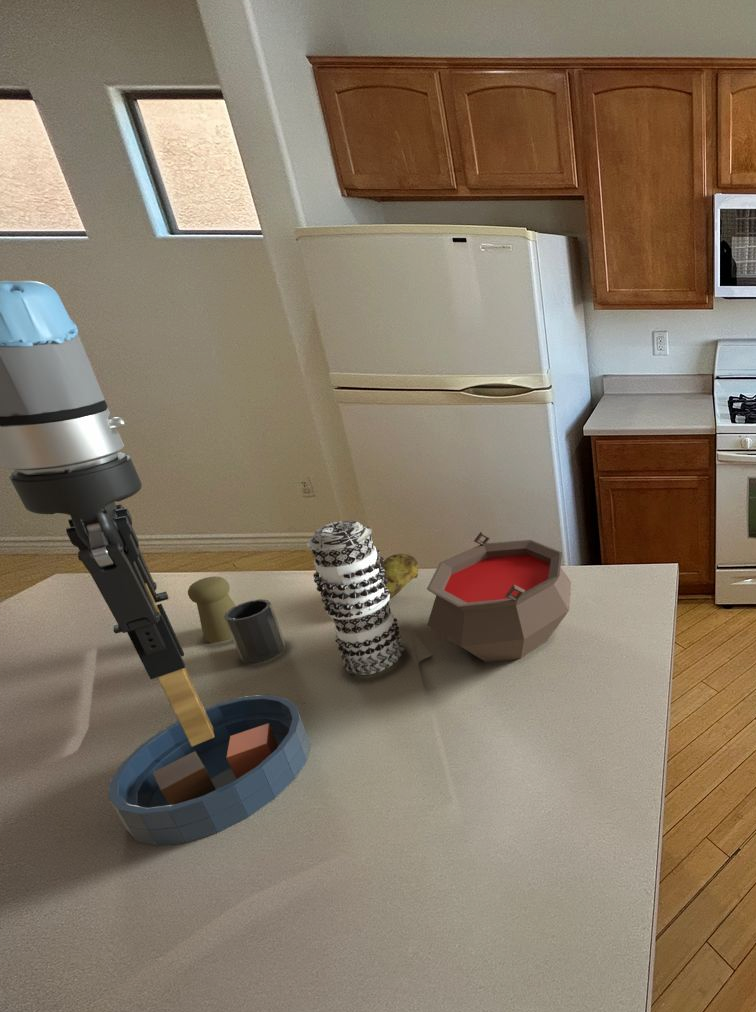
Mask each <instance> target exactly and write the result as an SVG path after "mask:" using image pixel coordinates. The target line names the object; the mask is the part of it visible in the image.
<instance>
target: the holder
mask: <svg viewBox="0 0 756 1012" xmlns="http://www.w3.org/2000/svg"><path fill="white" fill-rule="evenodd" d="M224 618H225V621H226V623H227V626H228V628H229V631H230V633H231V636H232V638H231V639H232V640H233V643H234V646H235V648H236V650H237V651H236V652H237V653H238V655H239V658H240V660H241V661H242V663H245V664H249V665H250V664H251V665H252V664H259V663H264V662H265V661H269V660H271V659H273V658H276V657H277V656H279V654H281V653H282V652H283V651H284V650H285V649H286V641H285V639H284V636H283V633H282V630H281V627H280V625H279V621H278V619H277V616H276V613H275V610H274V608H273V604H272V602H271V601H270V600H268V599H252V600H249V601H248V600H247V601H244V602H241V603H239V604H237V605H235V607H233V608H231V609H230V610H229V611H227V612H226V613H225V616H224Z"/></svg>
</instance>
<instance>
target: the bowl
mask: <svg viewBox="0 0 756 1012" xmlns="http://www.w3.org/2000/svg"><path fill="white" fill-rule="evenodd" d="M204 709H205V711H206V713H207V716H208V718H209V720H210V722H211V724H212V726H213V731H214V738H212V739H209V740H207V741H204V742H202V743H200V744H197V745H195V746H193V747H192V746H191V745H190V743H189V741H188V739H187V737H186V735H185V733H184V730H183V728H182V726H181V724H180V722H179V720H177V721H175V722H173V723H171V724H169V725H167V726H166V727H164V728H163V729H161V730H159V731H158V732H157V733H156V734H154V735H153V736H151V737H150V738H149V739H147V740H145V741H144V742H142V743H141V744H140V745H139V746H138V747H136V749H134V751H133V752H132V753H131V754H129V755H128V757H126V758H125V760H124V761H122V762H121V764H120V765H119V766H118V768H117V770H116V771H115V773H114V774H113V776H112V777H111V779H110V780H109V783H108V784H109V785H108V801H109V803H110V805H111V807H112V808H113V809H114V811H115V813H116V815H117V816H118V818H119V819H120V821H121V823H122V824H123V826H124V828H125V830H126V831H127V832H128V833H129V834H130V835H131V837H132V838H133V839H134V840H135V841H136V842H138V843H141V844H146V845H151V846H155V847H163V846H172V845H173V846H174V845H181V844H186V843H191V842H192V841H193V842H194V841H197V840H199V839H202V838H206V837H209V836H212V835H215V834H217V833H220V832H222V831H224V830H226V829H228V828H230V827H232V826H234V825H235V824H236V825H237V823H240V822H241V821H244V820H246V819H248V818H249V817H251V816H253V815H254V814H255V813H256V812H258V811H260V810H261V809H262V808H264V807H265V806H267V805H269V803H271V802H272V801H274V800H275V799H276V798H277V797H278V796H279V795H280V794H281V793H282V792H284V791H285V789H286V788H287V787H288V786H289V785H291V784H292V783H293V782H294V780H296V778H297V777H298V775H299V773H300V772H301V771H302V769H303V767H304V766H305V764H306V763H307V761H308V757H309V753H310V749H311V742H310V739H309V736H308V733H307V729H306V728H305V725H304V723H303V720H302V717H301V714H300V711H299V709H298V706H297V704H296V703H294V702H292V701H291V700H290V699H288V698H286V697H284V696H278V695H272V694H261V695H259V694H258V695H248V696H247V695H246V696H240V697H237V698H233V699H229V700H224V701H221V702H217V703H216V704H212V705H210V706H208V707H204ZM267 723H269V724H270V727H271V729H272V732H273V734H274V737H275V739H276V742H277V744H278V748H277V749H276V750H275V751H274V752H273V753H271V754H270V755H269V756H268V757H267V758H266V759H265V760H264V761H262V762H261V763H260V764H259V765H258V766H257V767H255V768H254V769H252V770H250V771H249V772H247V773H246V774H244V775H243V776H241V777H240V778H238V779H236V778H235V776H234V773H233V771H232V769H231V767H230V765H229V762H228V760H227V758H226V757H227V751H228V746H229V740H230V736H232V735H235V734H238V733H241V732H244V731H247V730H250V729H253V728H256V727H259V726H262V725H265V724H267ZM194 751H196V753H197V754H198V756H199V758H200V759H201V761H202V763H203V764H204V766H205V768H206V770H207V772H208V774H209V776H210V778H211V780H212V782H213V785H214V787H215V789H216V790H215V791H212V792H210V793H208V794H206V795H204V796H201V797H198V798H195V799H191V800H188V801H185V802H181V803H178V804H175V805H170V806H168V804H167V802H166V800H165V798H164V796H163V794H162V793H161V791H160V789H159V787H158V785H157V783H156V781H155V779H154V776H153V774H152V773H153V772H155V771H157V770H159V769H161V768H163V767H165V766H167V765H169V764H171V763H172V762H174V761H176V760H178V759H180V758H182V757H184V756H186V755H188V754H190V753H192V752H194Z"/></svg>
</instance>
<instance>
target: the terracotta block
mask: <svg viewBox="0 0 756 1012" xmlns="http://www.w3.org/2000/svg"><path fill="white" fill-rule="evenodd" d="M277 748H278V744H277V742H276V739H275V737H274V734H273V732H272V729H271V727H270V724H269V723H267V724H265V725H262V726H259V727H256V728H253V729H250V730H247V731H244V732H241V733H238V734H235V735H232V736H230V740H229V746H228V751H227V757H226V758H227V760H228V762H229V765H230V767H231V769H232V771H233V773H234V776H235V778H236V779H238V778H240V777H241V776H243V775H244V774H246V773H247V772H249V771H250V770H252V769H254V768H255V767H257V766H258V765H259V764H260V763H261V762H262V761H264V760H265V759H266V758H267V757H268V756H269V755H270V754H271V753H273V752H274V751H275V750H276V749H277Z"/></svg>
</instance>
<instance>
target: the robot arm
mask: <svg viewBox="0 0 756 1012" xmlns="http://www.w3.org/2000/svg"><path fill="white" fill-rule="evenodd" d="M85 349H86V348H85V347H84V344H83V342H82V339H81V337H80V335H79V329H78V326H77V324H76V323H75V321H74V320H72V319H71V317H70V315H69V314H68V311H67V309H66V308H65V305H64V304H63V301H62V300H61V297H60V295H59V293H58V292H57V291H56V290H55V289H54V288H52V287H51V286H49V285H48V284H47V283H43V282H40V281H36V280H0V465H1V466H2V467H3V468H5V469H8V470H11V471H12V472H11V475H10V476H9V479H10V482H11V484H12V486H13V487H14V489H15V491H16V493H17V495H18V497H19V499H20V501H21V502H22V505H23V506H24V508H25V509H26V510H27V511H29V512H31V513H34V514H37V515H55V514H64V515H68V516H70V518H69V519H68V525H69V527H66V528H65V531H66V532H65V533H66V534H67V537H68V539H69V541H70V543H71V544H72V545H73V546H74V547H77V548H78V552H77V558H78V560H79V561H81V563H82V564H83V566H84V567H85V568H86V570H87V571H88V572H89V574H90V576H91V578H92V579H93V581H94V584H95V585H96V587H97V589H98V590H99V593H100V595H101V596H102V599H104V602H105V603H106V605H107V607H108V609H109V611H110V613H111V614H112V616H113V618H114V620H115V621H116V625H113V629H112V630H113V632H114V634H119V633H123V634H126V633H127V635H128V637H129V639H130V641H131V643H132V646H133V647H134V650H135V652H136V653H137V655H138V657H139V659H140V662H141V664H142V665H143V668H144V670H145V671H146V674H147V675H148V677H149V679H150V680H155V679H158V677H160V676H163V675H166V674H168V673H171V672H174V671H177V670H180V669H183V668H186V663H185V662H184V659H183V658H182V657H185V652H184V650H183V648H182V645H181V643H180V641H179V639H178V637H177V634H176V632H175V630H174V628H173V625H172V623H171V620H170V619H169V617H168V614H167V612H166V610H165V609H164V608H165V607H164V606H163V604H162V603H160V602H164V601H166V600H169V594H168V592H167V591H162V592H159V593H157V592H156V591H157V587H158V585H157V583H156V581H154V579H153V577H152V574H151V573H150V570H149V567H148V566H147V562H146V561H145V558H144V556H143V554H142V552H141V550H140V549H141V548H140V545H139V544H140V543H139V538H138V536H137V534H136V532H135V530H134V528H133V519H132V515H131V514H130V511H129V509H128V507H125V506H123V505H122V503H119V504H116V503H115V502H122V501H124V500H126V499H129V498H131V497H133V496H134V495H136V494H137V493H139V492H140V491H141V489H142V487H143V485H142V481H141V478H140V476H139V474H138V472H137V469H136V467H135V465H134V463H133V460H132V458H131V456H130V455H129V454H126V453H124V452H121V451H122V450H123V449H124V448H125V444H124V441H123V439H122V436H121V434H120V432H119V430H118V429H121V428H123V427H125V426H126V422H125V420H124V419H123V418H121V417H120V416H119V417H118V416H117V417H116V416H115V417H112V418H110V415H111V412H110V410H109V407H108V404H107V402H106V398H105V396H104V394H103V391H102V389H101V387H100V384H99V381H98V379H97V377H96V374H95V371H94V369H93V367H92V364H91V361H90V358H89V357H88V354H87V352H86V350H85ZM145 583H146V584H147V586H148V588H149V590H150V592H151V594H152V596H153V599H154V601H155V603H156V605H157V607H158V609H159V612H160V613H159V612H157V610H156V607H155V605H154V603H153V601H152V598H151V596H150V594H149V592H148V589H147V587H146V585H145ZM157 603H158V604H157ZM160 614H161V615H160Z"/></svg>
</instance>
